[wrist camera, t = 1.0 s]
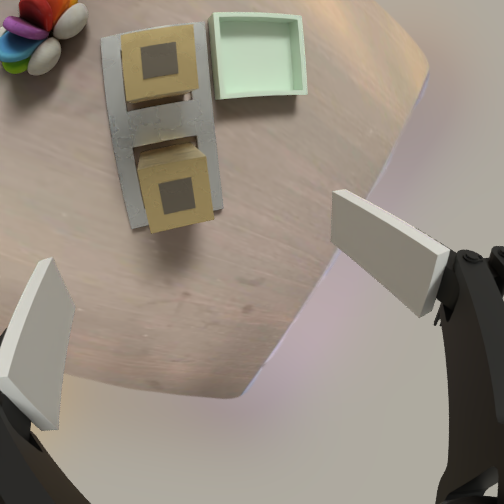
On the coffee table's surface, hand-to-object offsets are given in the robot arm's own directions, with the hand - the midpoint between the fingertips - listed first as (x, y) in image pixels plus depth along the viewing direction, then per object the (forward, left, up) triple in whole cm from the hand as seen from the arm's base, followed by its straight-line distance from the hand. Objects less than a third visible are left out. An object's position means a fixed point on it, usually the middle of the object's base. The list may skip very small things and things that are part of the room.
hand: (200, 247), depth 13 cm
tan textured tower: (0, +9, -19) cm, 21 cm away
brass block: (0, -1, -19) cm, 19 cm away
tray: (+10, +10, -19) cm, 24 cm away
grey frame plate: (0, +4, -19) cm, 19 cm away
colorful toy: (-11, +18, -19) cm, 28 cm away
